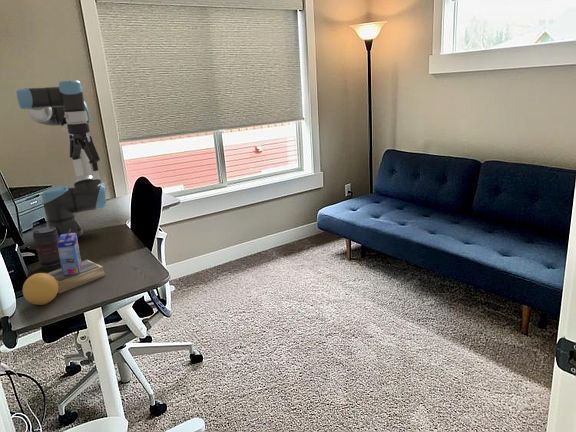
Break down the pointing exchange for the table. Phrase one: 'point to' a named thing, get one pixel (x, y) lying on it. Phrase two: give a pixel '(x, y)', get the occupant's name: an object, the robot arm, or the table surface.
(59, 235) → the robot arm
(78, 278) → the plinth
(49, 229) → the dark lidded jar
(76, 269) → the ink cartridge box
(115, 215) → the table surface
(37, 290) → the stress ball
